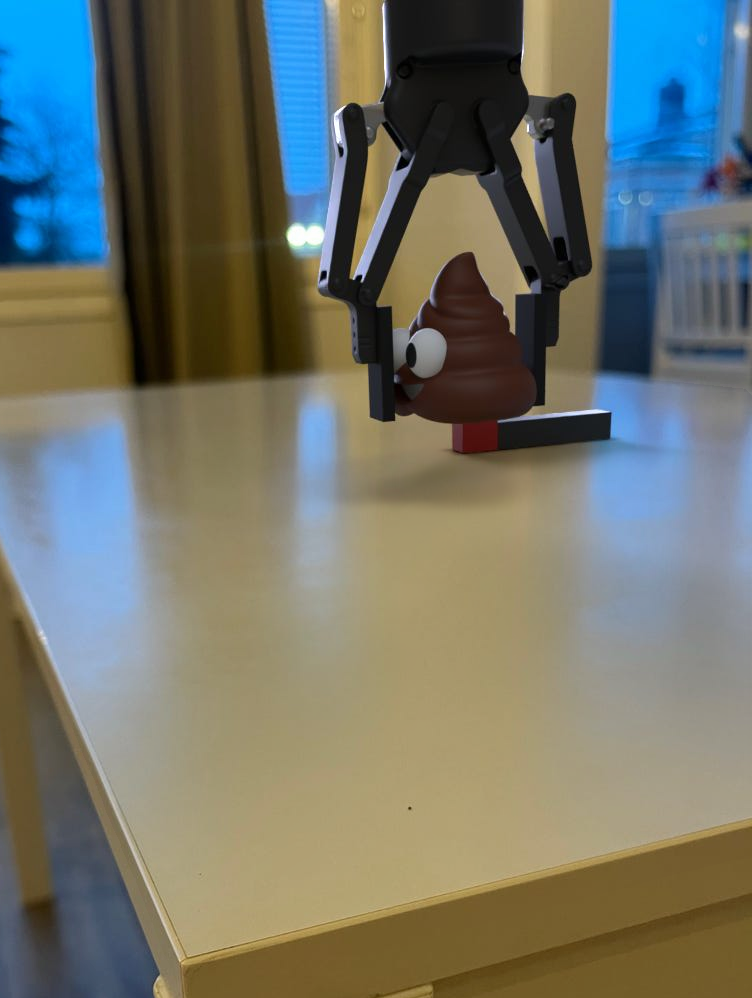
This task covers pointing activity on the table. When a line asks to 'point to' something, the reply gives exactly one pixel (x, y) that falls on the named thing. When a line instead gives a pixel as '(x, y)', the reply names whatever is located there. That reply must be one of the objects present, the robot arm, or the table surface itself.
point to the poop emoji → (461, 354)
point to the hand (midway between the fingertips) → (456, 411)
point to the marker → (532, 431)
